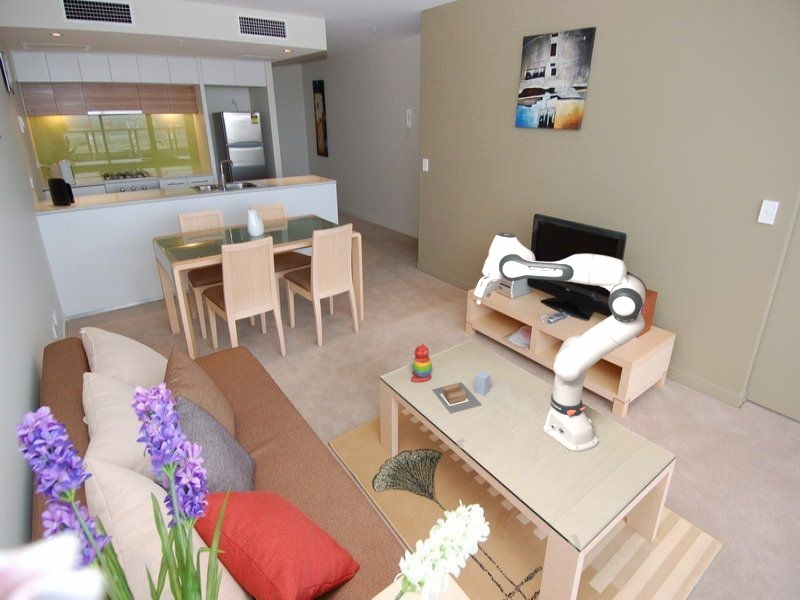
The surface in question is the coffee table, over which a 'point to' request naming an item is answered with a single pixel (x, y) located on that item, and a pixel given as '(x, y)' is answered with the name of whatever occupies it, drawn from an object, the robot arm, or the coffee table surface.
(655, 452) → the coffee table surface
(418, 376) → the stacking bear
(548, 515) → the coffee table surface
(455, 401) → the base block
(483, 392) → the pillar
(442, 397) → the build mat
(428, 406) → the coffee table surface
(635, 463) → the coffee table surface
